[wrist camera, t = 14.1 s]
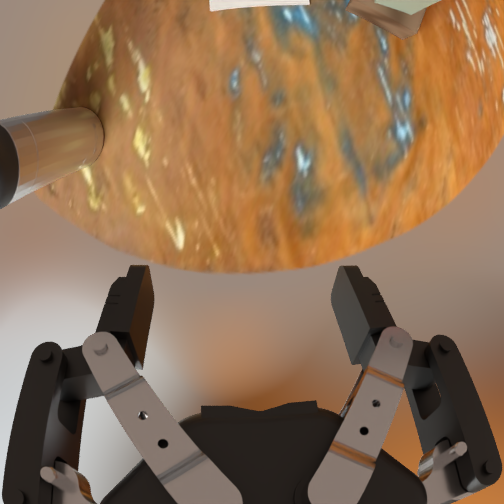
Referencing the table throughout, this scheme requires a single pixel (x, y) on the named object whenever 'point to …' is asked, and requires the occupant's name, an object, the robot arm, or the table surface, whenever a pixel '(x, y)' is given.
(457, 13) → the table surface
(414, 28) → the walnut base
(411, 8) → the sage brick
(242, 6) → the page
